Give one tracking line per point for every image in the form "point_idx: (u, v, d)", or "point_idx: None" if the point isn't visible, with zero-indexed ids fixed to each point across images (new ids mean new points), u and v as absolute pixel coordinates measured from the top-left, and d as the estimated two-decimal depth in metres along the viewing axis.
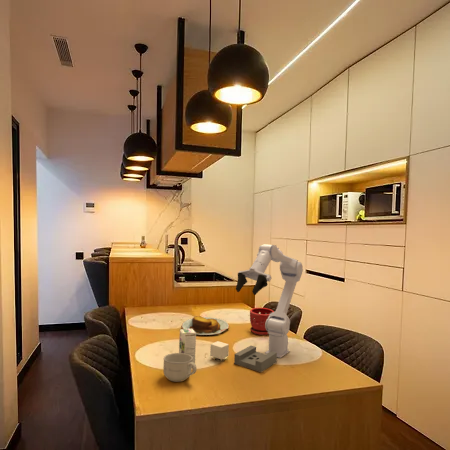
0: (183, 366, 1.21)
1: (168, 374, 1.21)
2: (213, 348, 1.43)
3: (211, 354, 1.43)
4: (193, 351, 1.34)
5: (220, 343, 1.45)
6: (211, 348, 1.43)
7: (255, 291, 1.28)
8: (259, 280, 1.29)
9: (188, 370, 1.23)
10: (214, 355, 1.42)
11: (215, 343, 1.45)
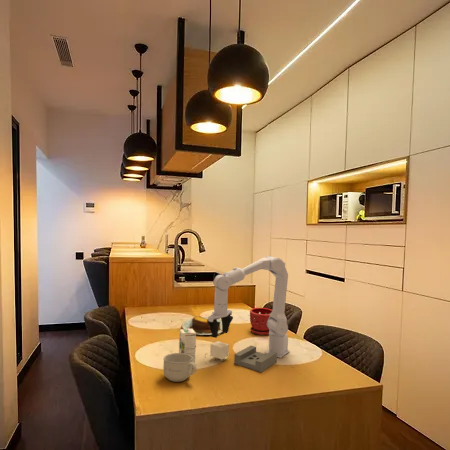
0: (183, 366, 1.21)
1: (168, 374, 1.21)
2: (213, 348, 1.43)
3: (211, 354, 1.43)
4: (193, 351, 1.34)
5: (220, 343, 1.45)
6: (211, 348, 1.43)
7: (213, 335, 1.40)
8: None
9: (188, 370, 1.23)
10: (214, 355, 1.42)
11: (215, 343, 1.45)
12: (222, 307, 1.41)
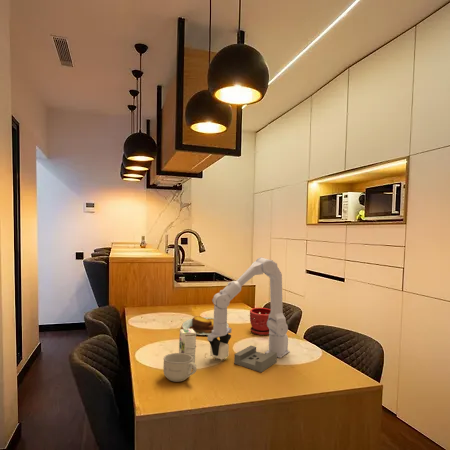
0: (183, 366, 1.21)
1: (168, 374, 1.21)
2: None
3: (211, 354, 1.43)
4: (193, 351, 1.34)
5: (220, 343, 1.45)
6: (211, 348, 1.43)
7: (214, 353, 1.41)
8: None
9: (188, 370, 1.23)
10: (214, 355, 1.42)
11: None
12: (221, 326, 1.41)
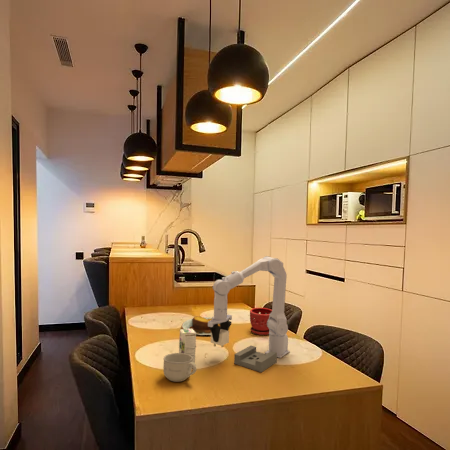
0: (183, 366, 1.21)
1: (168, 373, 1.21)
2: None
3: (211, 341, 1.43)
4: (193, 351, 1.34)
5: (220, 330, 1.45)
6: (211, 335, 1.43)
7: (215, 339, 1.41)
8: None
9: (188, 370, 1.23)
10: (214, 342, 1.42)
11: None
12: (222, 312, 1.41)
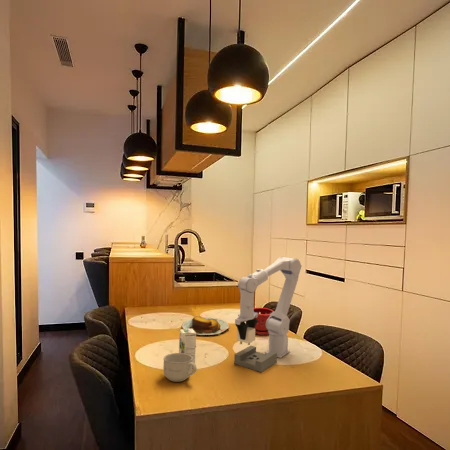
0: (183, 366, 1.21)
1: (168, 374, 1.21)
2: None
3: (238, 338, 1.42)
4: (193, 351, 1.34)
5: None
6: (238, 332, 1.42)
7: (241, 337, 1.40)
8: None
9: (188, 370, 1.23)
10: (241, 339, 1.41)
11: None
12: (248, 310, 1.39)
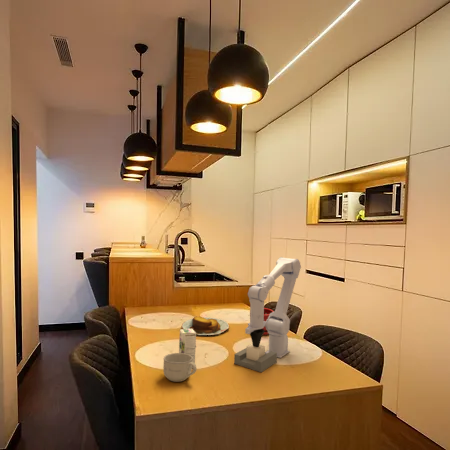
0: (183, 366, 1.21)
1: (168, 374, 1.21)
2: (250, 351, 1.40)
3: (247, 356, 1.41)
4: (193, 351, 1.34)
5: None
6: (247, 350, 1.41)
7: (254, 345, 1.41)
8: None
9: (188, 370, 1.23)
10: (250, 357, 1.40)
11: (251, 345, 1.43)
12: (259, 319, 1.38)
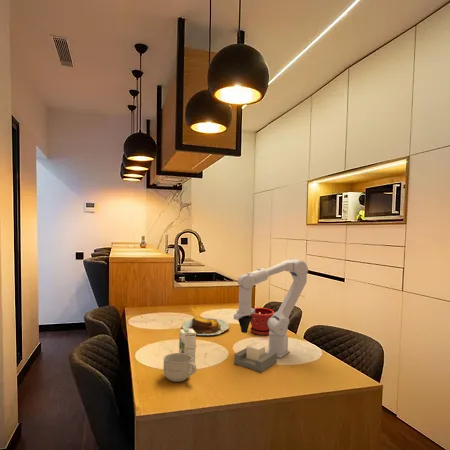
0: (183, 366, 1.21)
1: (168, 374, 1.21)
2: (250, 351, 1.40)
3: (247, 356, 1.41)
4: (193, 351, 1.34)
5: (256, 345, 1.42)
6: (247, 350, 1.41)
7: (243, 330, 1.48)
8: None
9: (188, 370, 1.23)
10: (250, 357, 1.40)
11: (251, 345, 1.43)
12: (246, 305, 1.46)
